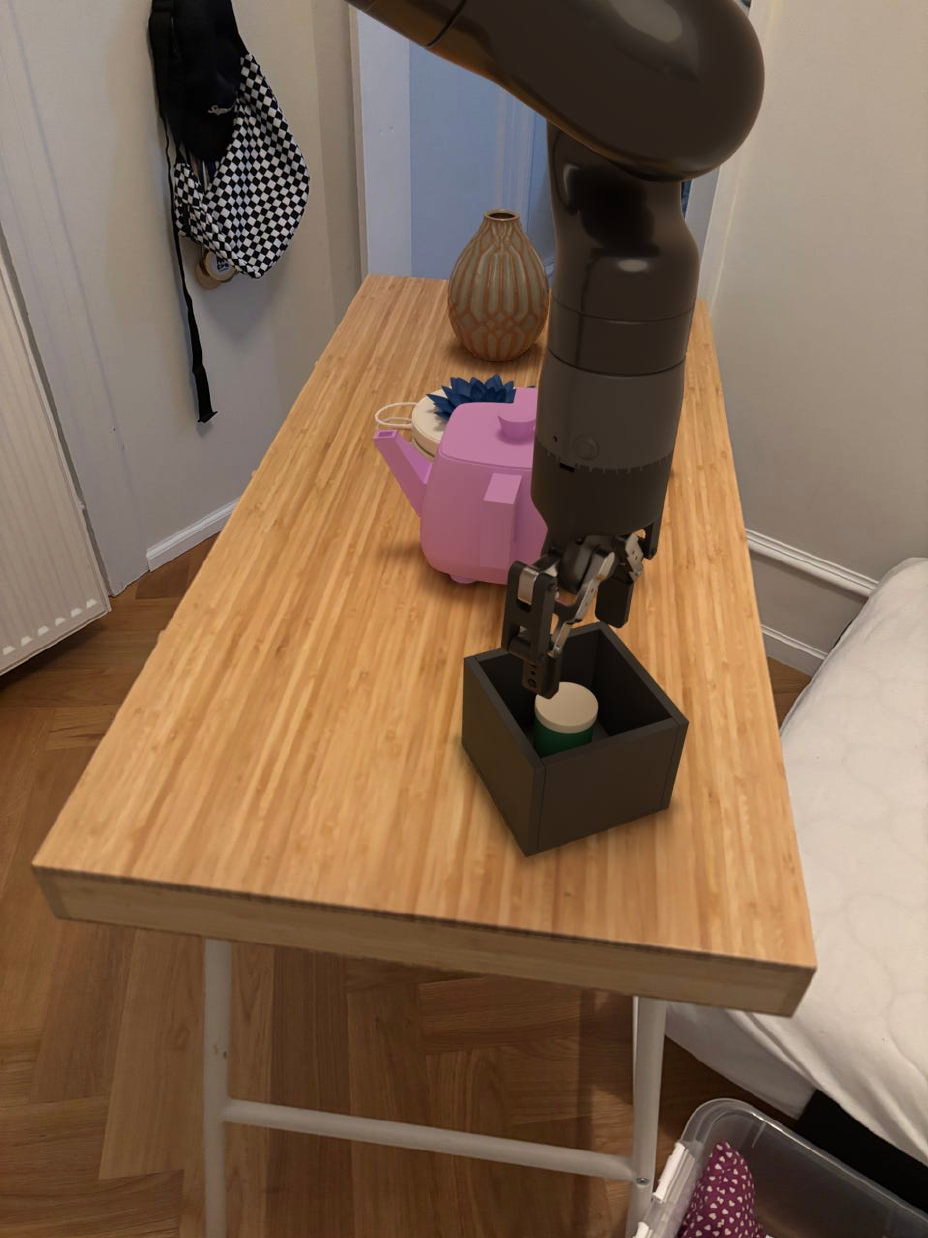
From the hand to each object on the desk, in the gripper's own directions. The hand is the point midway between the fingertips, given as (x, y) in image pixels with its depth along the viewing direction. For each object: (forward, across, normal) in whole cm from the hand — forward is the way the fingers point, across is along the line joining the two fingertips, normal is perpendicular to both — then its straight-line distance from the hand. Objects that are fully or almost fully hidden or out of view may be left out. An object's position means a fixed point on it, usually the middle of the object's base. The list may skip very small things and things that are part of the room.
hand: (576, 655), depth 60 cm
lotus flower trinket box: (+12, -34, -35) cm, 50 cm away
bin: (+12, 0, 0) cm, 12 cm away
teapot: (+12, -20, -18) cm, 30 cm away
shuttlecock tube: (+11, 0, 0) cm, 11 cm away
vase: (+12, -57, -47) cm, 75 cm away
